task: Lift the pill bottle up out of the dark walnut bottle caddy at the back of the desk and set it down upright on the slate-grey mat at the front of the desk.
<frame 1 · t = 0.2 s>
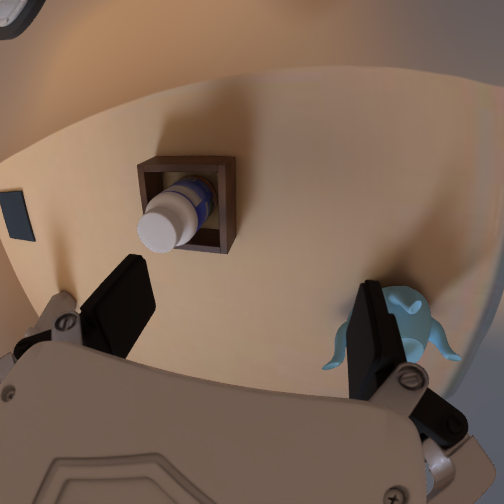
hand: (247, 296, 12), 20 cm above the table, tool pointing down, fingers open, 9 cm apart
caddy: (194, 196, 32), on the table
pill bottle: (195, 195, 32), resting in caddy
teapot: (385, 306, 35), on the table
salt shaker: (69, 299, 48), on the table
mat: (15, 215, 40), on the table
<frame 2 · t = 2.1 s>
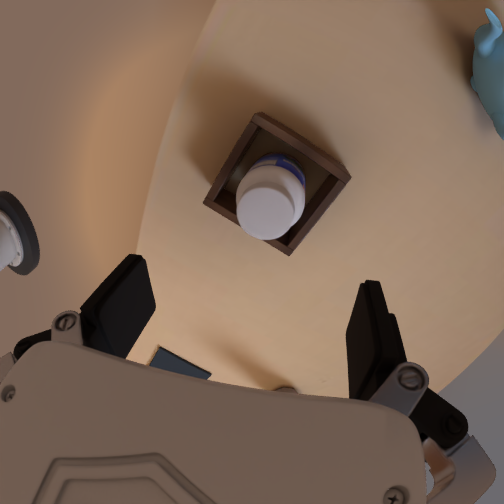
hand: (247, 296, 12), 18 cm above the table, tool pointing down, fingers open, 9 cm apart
caddy: (277, 177, 28), on the table
pill bottle: (278, 176, 28), resting in caddy
teapot: (496, 81, 17), on the table
mat: (177, 372, 48), on the table
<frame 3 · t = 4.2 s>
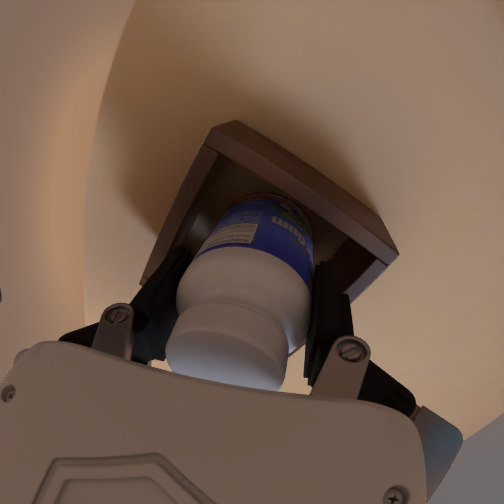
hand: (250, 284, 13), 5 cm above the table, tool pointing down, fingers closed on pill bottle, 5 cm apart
caddy: (265, 234, 17), on the table
pill bottle: (266, 232, 17), resting in caddy, touching gripper
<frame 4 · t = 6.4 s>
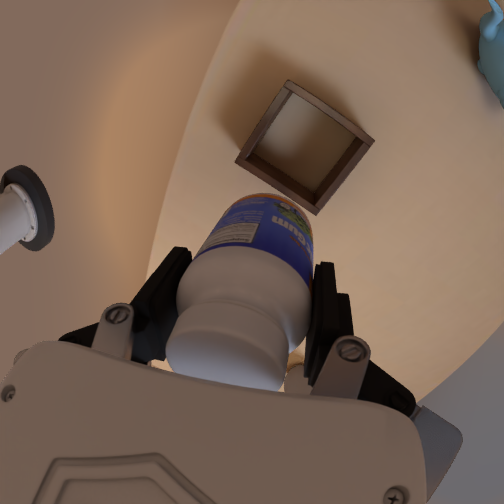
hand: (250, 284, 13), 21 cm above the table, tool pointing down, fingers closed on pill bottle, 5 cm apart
caddy: (304, 143, 28), on the table
pill bottle: (266, 232, 17), point 15 cm above the table, touching gripper
teapot: (501, 66, 17), on the table
salt shaker: (302, 370, 47), on the table
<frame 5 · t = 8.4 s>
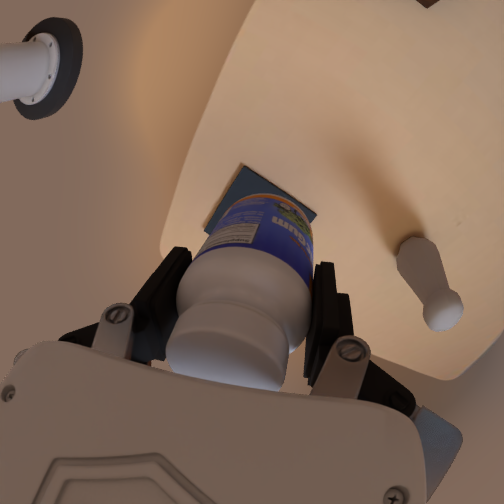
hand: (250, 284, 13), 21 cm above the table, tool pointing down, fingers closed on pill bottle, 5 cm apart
pill bottle: (266, 232, 17), point 16 cm above the table, touching gripper
salt shaker: (412, 249, 32), on the table
mat: (258, 222, 34), on the table
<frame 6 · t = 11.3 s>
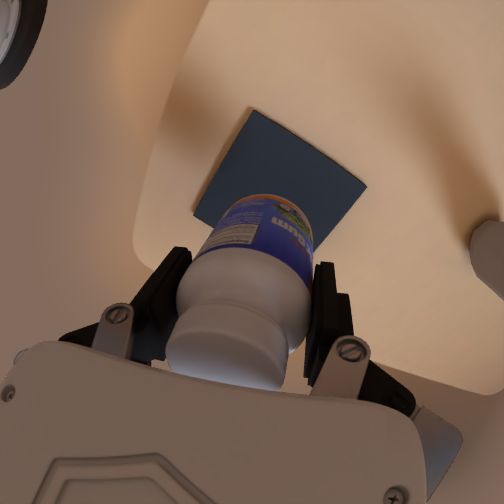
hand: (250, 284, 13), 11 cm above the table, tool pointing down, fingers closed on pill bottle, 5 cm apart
pill bottle: (266, 233, 17), point 6 cm above the table, touching gripper
salt shaker: (484, 239, 20), on the table
mat: (276, 198, 22), on the table
when the fingers open (5 cm above the table, at t = 13.1 s): pill bottle stays where it is, resting on mat.
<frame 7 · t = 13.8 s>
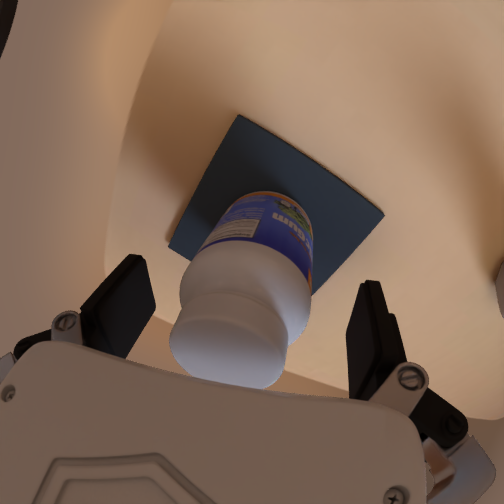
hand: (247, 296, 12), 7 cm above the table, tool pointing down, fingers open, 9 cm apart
pill bottle: (267, 229, 17), resting on mat
mat: (269, 228, 18), on the table
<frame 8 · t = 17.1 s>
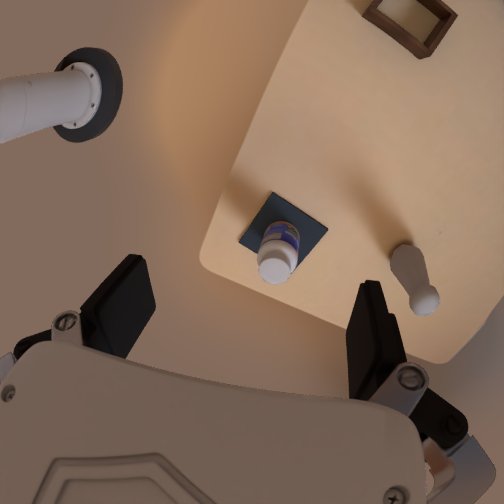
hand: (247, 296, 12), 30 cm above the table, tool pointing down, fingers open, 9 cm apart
caddy: (406, 16, 23), on the table
pill bottle: (282, 235, 44), resting on mat
salt shaker: (403, 254, 42), on the table
mat: (282, 235, 44), on the table
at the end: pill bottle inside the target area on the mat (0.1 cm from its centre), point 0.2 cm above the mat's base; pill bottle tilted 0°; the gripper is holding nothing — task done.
